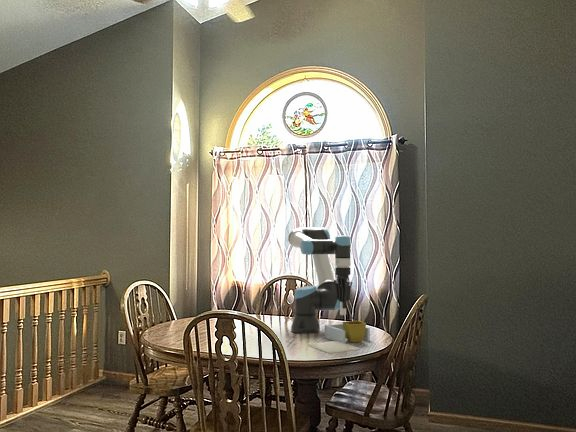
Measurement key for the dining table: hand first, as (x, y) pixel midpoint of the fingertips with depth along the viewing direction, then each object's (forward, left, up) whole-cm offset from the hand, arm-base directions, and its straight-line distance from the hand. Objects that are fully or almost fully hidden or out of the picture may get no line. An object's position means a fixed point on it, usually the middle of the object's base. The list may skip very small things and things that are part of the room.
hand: (343, 314), depth 260 cm
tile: (+15, -16, -11) cm, 25 cm away
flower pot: (+9, 0, -12) cm, 15 cm away
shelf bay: (+3, 0, -11) cm, 12 cm away
